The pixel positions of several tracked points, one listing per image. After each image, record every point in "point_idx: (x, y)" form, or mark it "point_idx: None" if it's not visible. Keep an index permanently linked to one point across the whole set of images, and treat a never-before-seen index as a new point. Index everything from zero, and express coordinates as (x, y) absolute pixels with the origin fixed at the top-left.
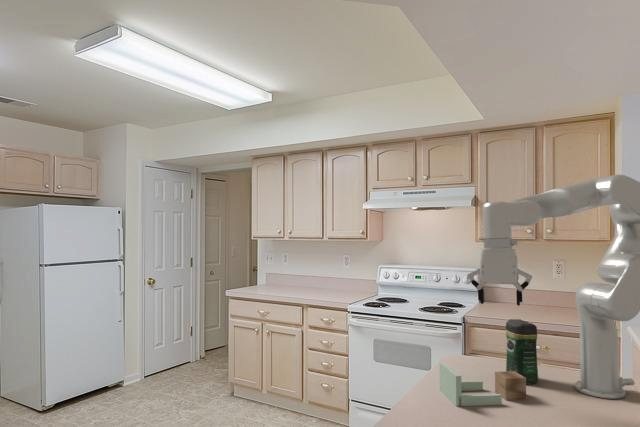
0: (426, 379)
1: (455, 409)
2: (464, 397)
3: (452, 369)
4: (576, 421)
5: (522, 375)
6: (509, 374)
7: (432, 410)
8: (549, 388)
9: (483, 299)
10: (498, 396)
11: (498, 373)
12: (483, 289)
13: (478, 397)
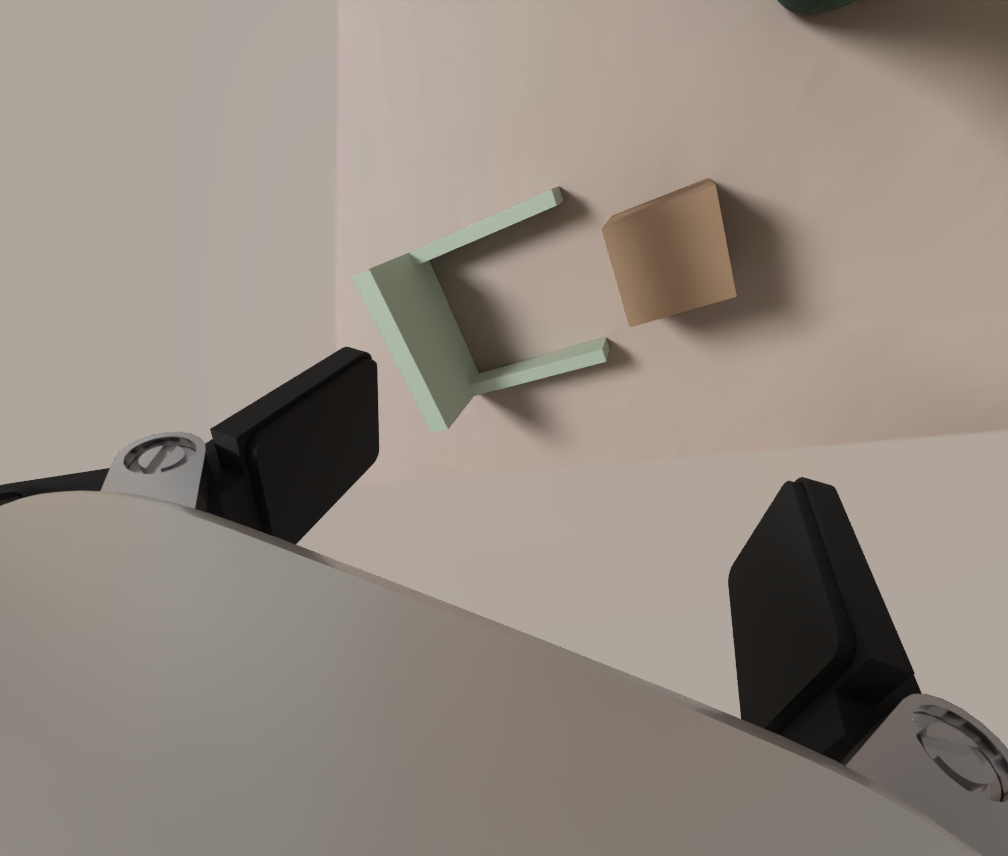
0: (340, 122)
1: (468, 408)
2: (483, 391)
3: (412, 363)
4: (826, 445)
5: (817, 5)
6: (667, 256)
7: (413, 422)
8: (959, 39)
9: (354, 447)
10: (594, 363)
11: (614, 252)
12: (256, 466)
13: (526, 381)
